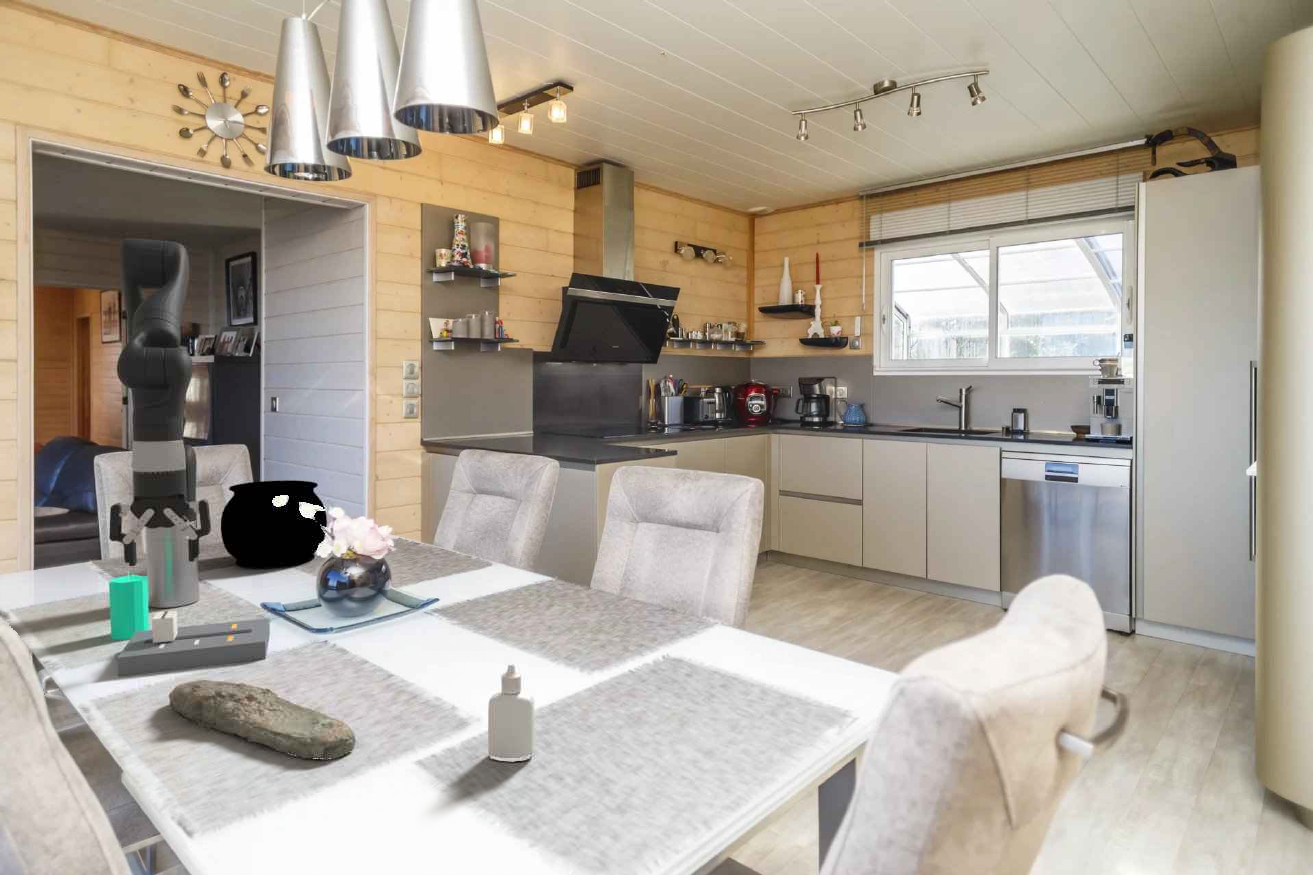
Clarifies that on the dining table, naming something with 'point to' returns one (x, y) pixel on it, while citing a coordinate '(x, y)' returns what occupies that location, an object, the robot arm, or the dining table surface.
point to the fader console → (196, 647)
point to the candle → (128, 606)
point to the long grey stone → (262, 718)
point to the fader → (164, 626)
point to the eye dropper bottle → (511, 719)
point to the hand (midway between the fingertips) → (162, 563)
